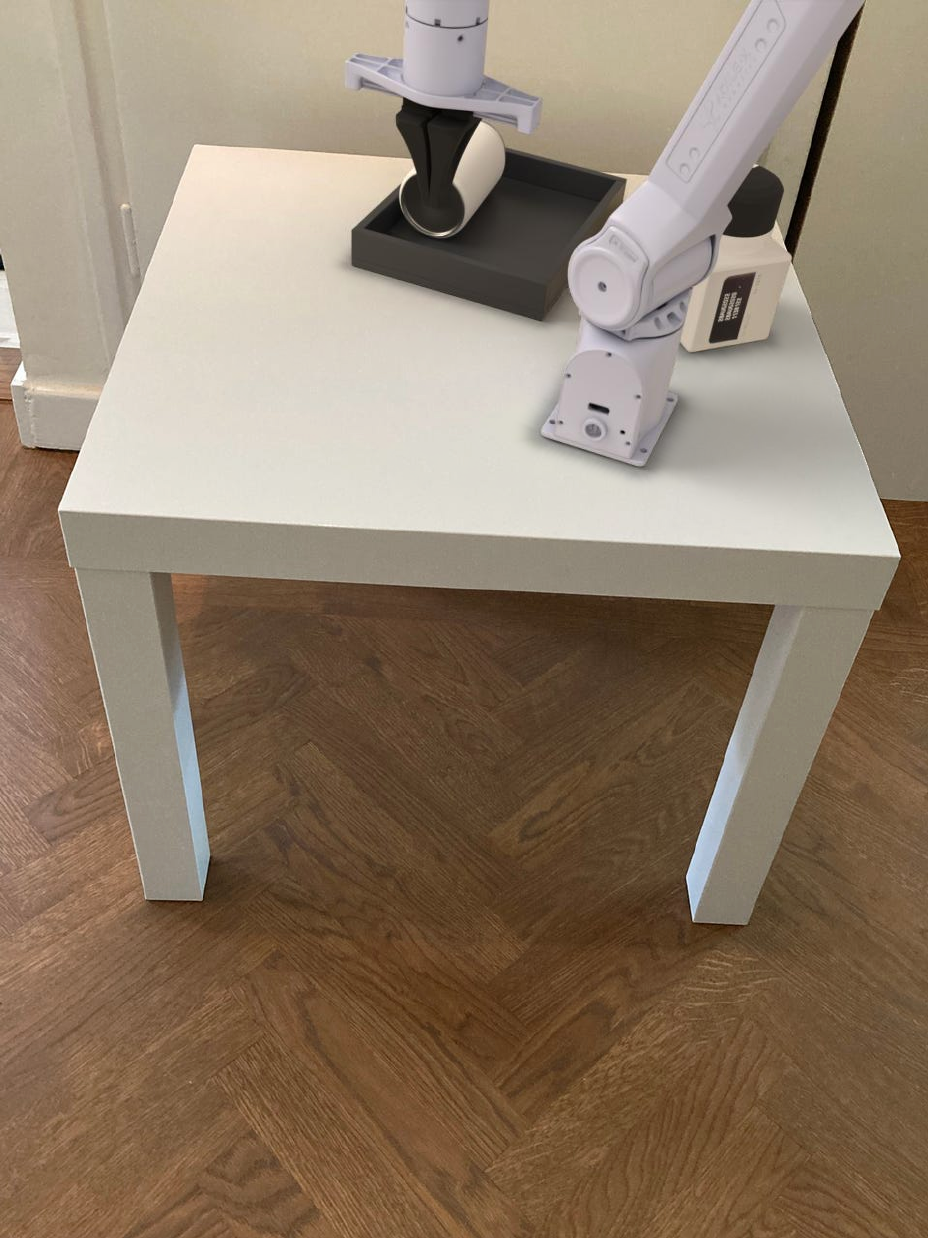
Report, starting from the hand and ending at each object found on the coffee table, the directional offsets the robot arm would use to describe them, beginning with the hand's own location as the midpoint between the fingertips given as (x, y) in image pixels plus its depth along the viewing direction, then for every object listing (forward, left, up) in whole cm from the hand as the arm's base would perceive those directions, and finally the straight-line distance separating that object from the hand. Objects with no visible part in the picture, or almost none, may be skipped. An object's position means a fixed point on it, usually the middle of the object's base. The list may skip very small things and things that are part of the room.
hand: (435, 202), depth 88 cm
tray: (+14, 0, -9) cm, 17 cm away
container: (+10, -21, -10) cm, 25 cm away
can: (+9, +4, -5) cm, 11 cm away
